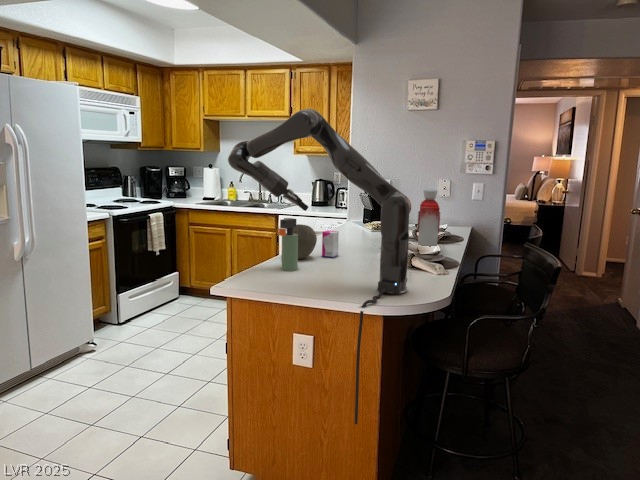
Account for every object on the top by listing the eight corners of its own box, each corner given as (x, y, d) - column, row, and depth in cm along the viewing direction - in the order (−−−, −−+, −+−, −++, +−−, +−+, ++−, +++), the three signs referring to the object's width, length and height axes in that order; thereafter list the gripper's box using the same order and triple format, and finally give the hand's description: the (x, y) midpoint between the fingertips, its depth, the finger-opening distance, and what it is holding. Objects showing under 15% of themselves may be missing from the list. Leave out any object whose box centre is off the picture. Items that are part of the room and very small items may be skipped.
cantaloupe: (312, 262, 206) (313, 227, 203) (280, 260, 209) (280, 226, 206) (319, 256, 220) (319, 223, 217) (288, 254, 222) (289, 221, 220)
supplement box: (338, 255, 221) (339, 231, 219) (333, 258, 215) (334, 232, 213) (326, 254, 223) (327, 229, 221) (321, 257, 218) (322, 231, 216)
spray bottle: (287, 272, 189) (288, 221, 185) (275, 269, 193) (275, 219, 189) (300, 268, 195) (301, 219, 191) (288, 266, 199) (289, 217, 195)
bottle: (438, 255, 225) (442, 190, 220) (415, 254, 227) (419, 190, 222) (437, 249, 239) (441, 188, 234) (416, 248, 241) (419, 187, 236)
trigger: (283, 236, 187) (283, 229, 187) (278, 235, 189) (278, 228, 188) (285, 235, 188) (285, 229, 188) (280, 235, 190) (280, 228, 189)
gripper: (283, 176, 183) (317, 203, 190) (274, 174, 195) (306, 199, 202) (272, 192, 182) (306, 218, 189) (263, 189, 195) (296, 214, 201)
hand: (306, 208), depth 195 cm, fingers closed
